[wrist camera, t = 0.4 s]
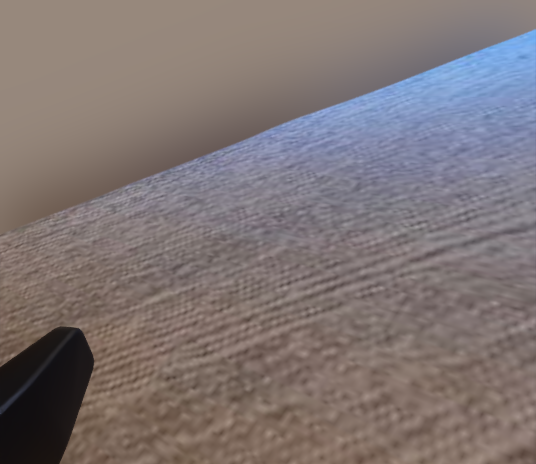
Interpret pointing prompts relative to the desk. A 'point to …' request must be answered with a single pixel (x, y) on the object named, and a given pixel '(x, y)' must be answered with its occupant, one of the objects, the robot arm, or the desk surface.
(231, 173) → the desk surface
